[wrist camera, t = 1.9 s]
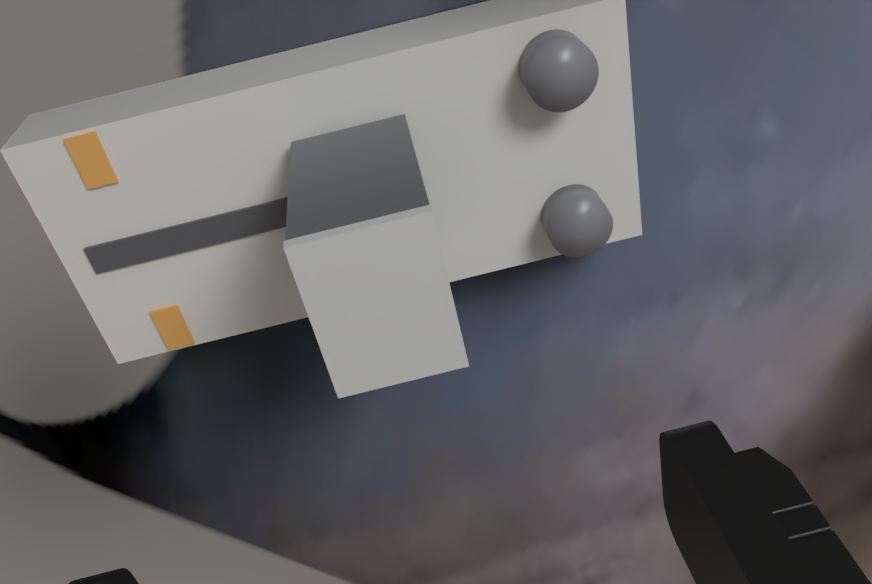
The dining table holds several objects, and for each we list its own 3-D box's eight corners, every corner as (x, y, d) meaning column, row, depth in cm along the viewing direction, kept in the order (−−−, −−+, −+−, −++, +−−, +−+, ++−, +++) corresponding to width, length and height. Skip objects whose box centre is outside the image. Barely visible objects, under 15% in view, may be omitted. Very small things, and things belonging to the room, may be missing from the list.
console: (595, -26, 22) (638, 4, 19) (615, 197, 26) (654, 251, 23) (29, 114, 22) (-14, 166, 19) (133, 316, 26) (110, 385, 23)
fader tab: (405, 112, 21) (432, 211, 16) (437, 246, 23) (468, 366, 18) (289, 141, 21) (283, 248, 16) (332, 271, 23) (338, 398, 18)
